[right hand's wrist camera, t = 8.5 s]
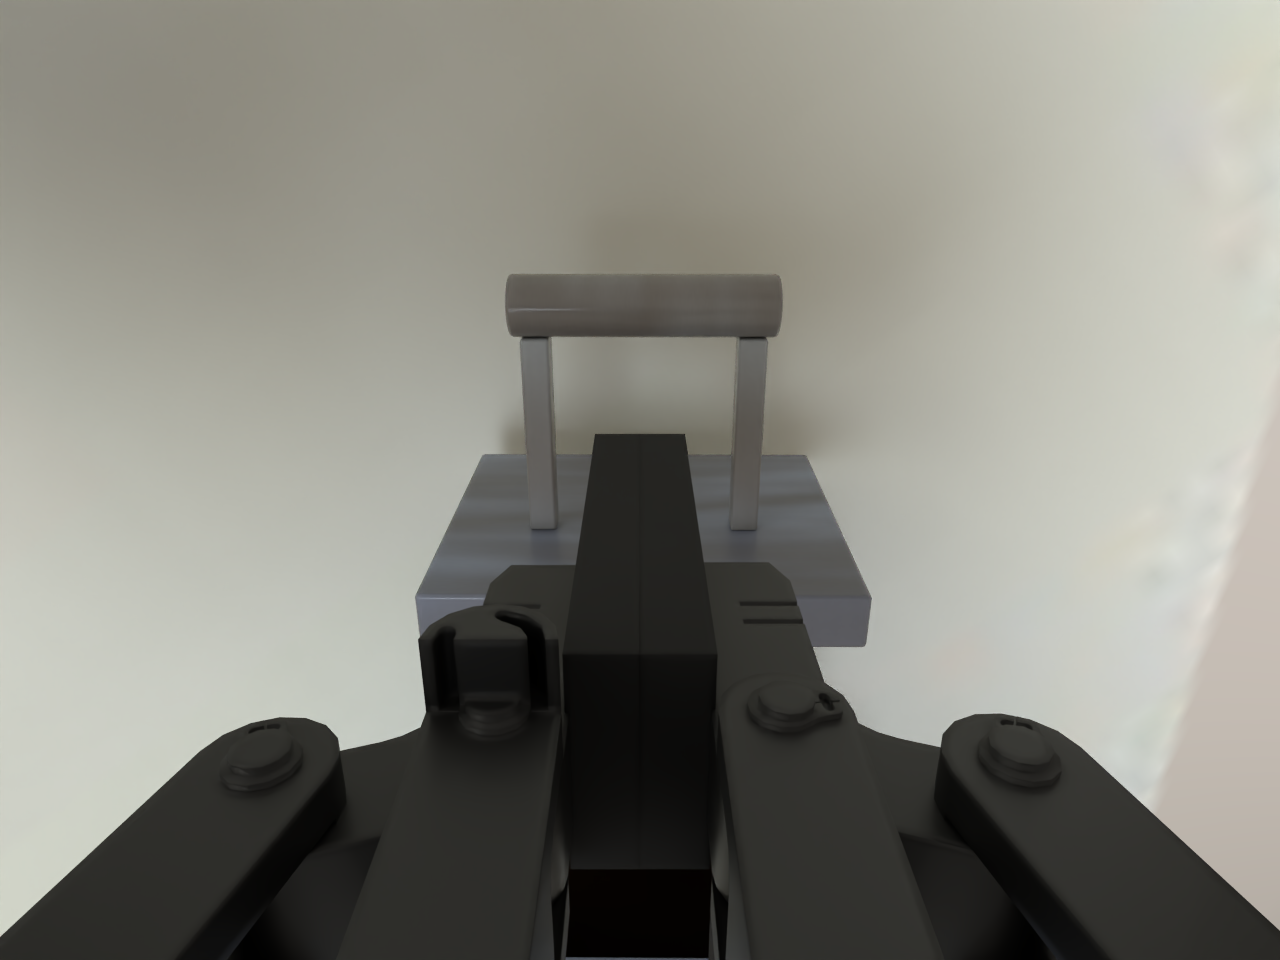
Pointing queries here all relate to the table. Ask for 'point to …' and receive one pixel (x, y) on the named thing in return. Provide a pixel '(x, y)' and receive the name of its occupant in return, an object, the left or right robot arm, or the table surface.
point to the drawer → (727, 518)
